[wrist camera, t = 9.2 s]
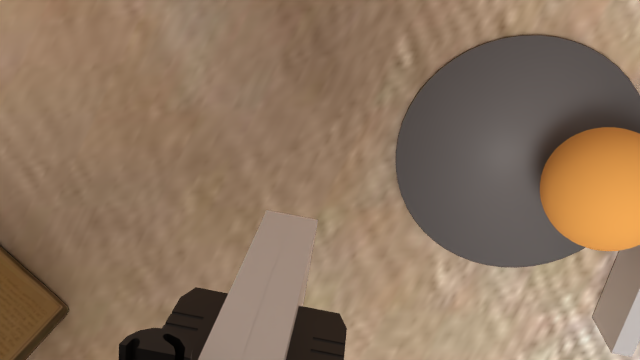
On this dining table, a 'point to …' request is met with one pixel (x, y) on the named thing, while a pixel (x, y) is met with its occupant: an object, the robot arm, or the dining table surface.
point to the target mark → (503, 143)
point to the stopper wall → (621, 304)
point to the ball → (595, 189)
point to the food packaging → (24, 310)
